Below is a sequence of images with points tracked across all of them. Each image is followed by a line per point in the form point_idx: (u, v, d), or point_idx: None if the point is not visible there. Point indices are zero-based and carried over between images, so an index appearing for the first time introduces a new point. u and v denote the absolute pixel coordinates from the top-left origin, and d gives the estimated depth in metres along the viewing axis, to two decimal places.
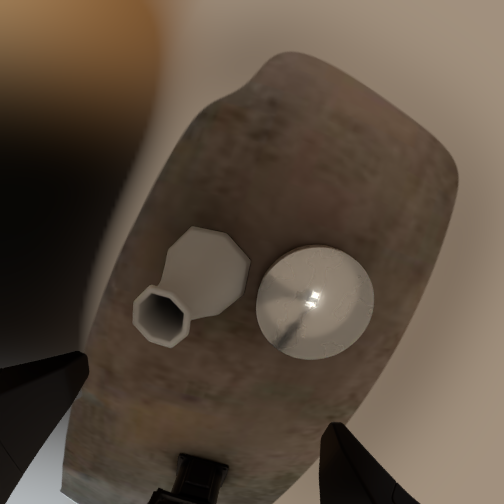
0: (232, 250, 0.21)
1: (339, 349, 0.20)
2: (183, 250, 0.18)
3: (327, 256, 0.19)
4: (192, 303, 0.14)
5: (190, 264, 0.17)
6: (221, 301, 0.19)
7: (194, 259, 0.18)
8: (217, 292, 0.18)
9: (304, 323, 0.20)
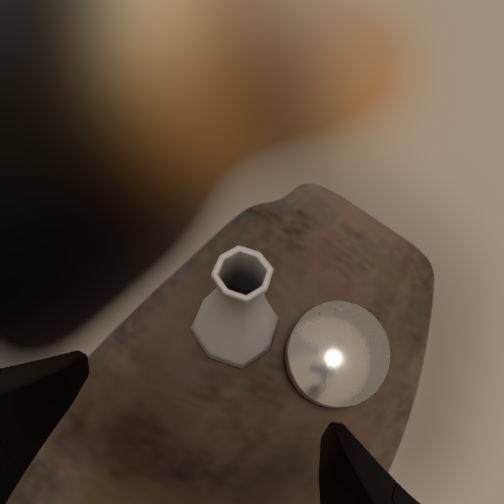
0: None
1: (365, 395, 0.18)
2: (234, 280, 0.21)
3: (348, 308, 0.22)
4: (264, 281, 0.16)
5: (246, 281, 0.20)
6: (263, 328, 0.19)
7: (247, 283, 0.20)
8: (265, 312, 0.19)
9: (332, 367, 0.19)
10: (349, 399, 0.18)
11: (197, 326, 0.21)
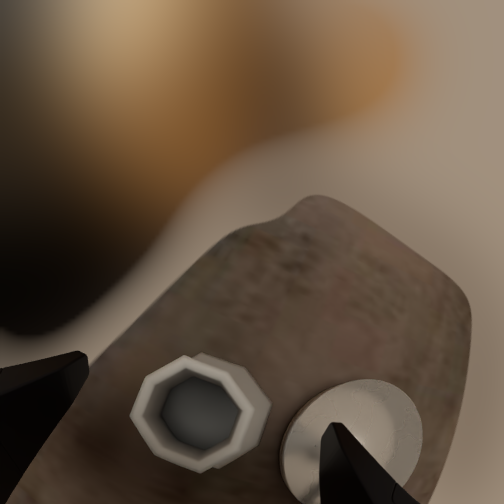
0: (255, 384, 0.14)
1: None
2: None
3: (374, 389, 0.13)
4: None
5: None
6: (245, 439, 0.10)
7: None
8: None
9: None
10: None
11: None
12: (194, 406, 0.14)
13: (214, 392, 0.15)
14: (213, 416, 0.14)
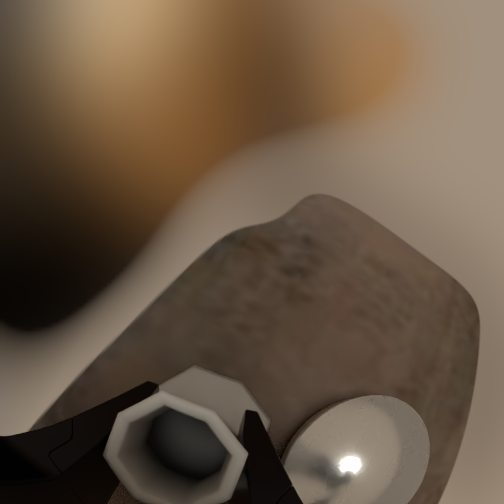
0: (252, 401, 0.13)
1: None
2: (191, 383, 0.11)
3: (380, 405, 0.12)
4: None
5: (208, 398, 0.09)
6: None
7: (212, 395, 0.10)
8: None
9: (348, 493, 0.09)
10: None
11: None
12: (187, 423, 0.13)
13: None
14: (207, 433, 0.13)
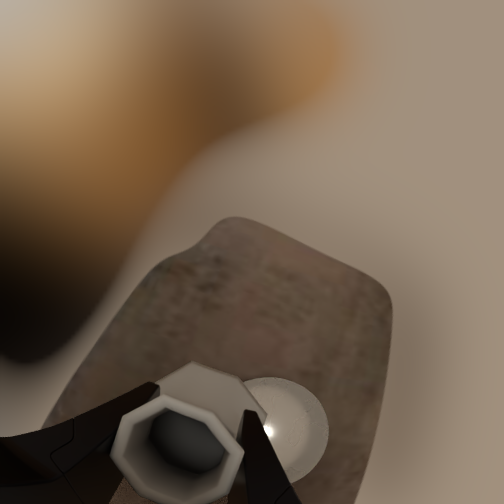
0: (248, 396, 0.13)
1: (300, 474, 0.15)
2: (189, 380, 0.11)
3: (272, 385, 0.18)
4: None
5: (206, 396, 0.10)
6: None
7: (209, 392, 0.10)
8: None
9: None
10: None
11: None
12: (186, 417, 0.13)
13: None
14: (205, 427, 0.13)
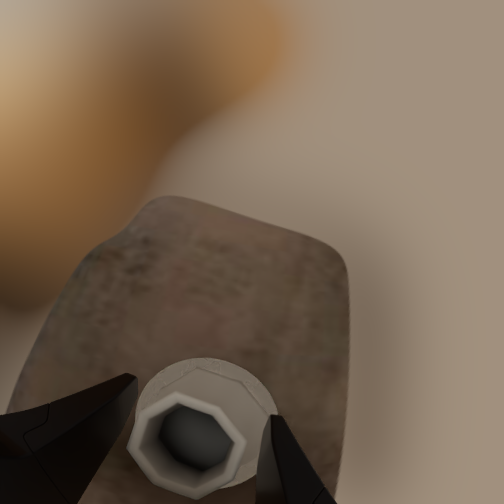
0: (251, 399, 0.14)
1: (252, 470, 0.13)
2: (196, 383, 0.12)
3: (203, 366, 0.16)
4: None
5: (212, 397, 0.11)
6: (242, 456, 0.10)
7: (215, 394, 0.11)
8: None
9: None
10: None
11: None
12: (192, 420, 0.14)
13: None
14: (211, 430, 0.14)
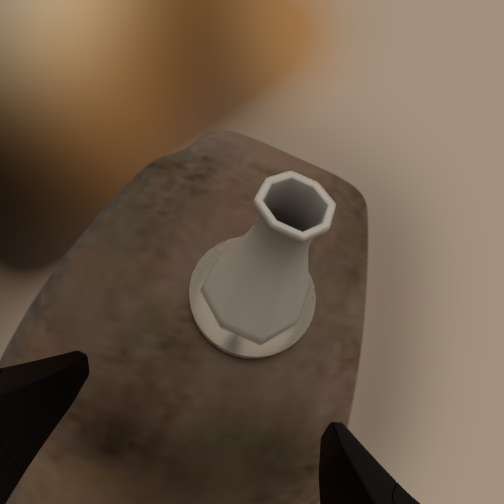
0: None
1: (290, 340, 0.18)
2: None
3: None
4: (317, 223, 0.12)
5: None
6: (298, 292, 0.15)
7: None
8: (304, 271, 0.15)
9: None
10: (269, 346, 0.17)
11: (210, 286, 0.17)
12: None
13: None
14: None
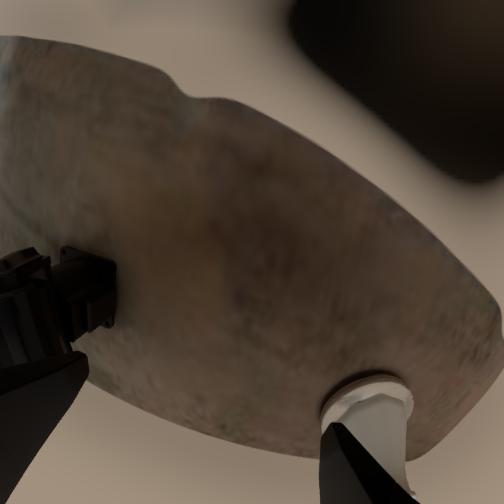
0: None
1: None
2: (404, 447, 0.16)
3: None
4: None
5: None
6: None
7: None
8: None
9: None
10: None
11: (381, 409, 0.18)
12: None
13: None
14: None
